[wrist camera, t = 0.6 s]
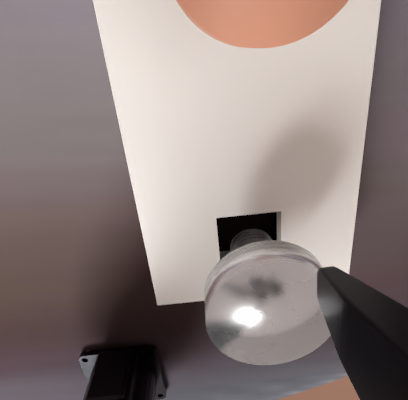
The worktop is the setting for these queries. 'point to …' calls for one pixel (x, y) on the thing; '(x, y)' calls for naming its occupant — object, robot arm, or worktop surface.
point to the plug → (264, 301)
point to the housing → (237, 133)
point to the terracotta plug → (260, 19)
